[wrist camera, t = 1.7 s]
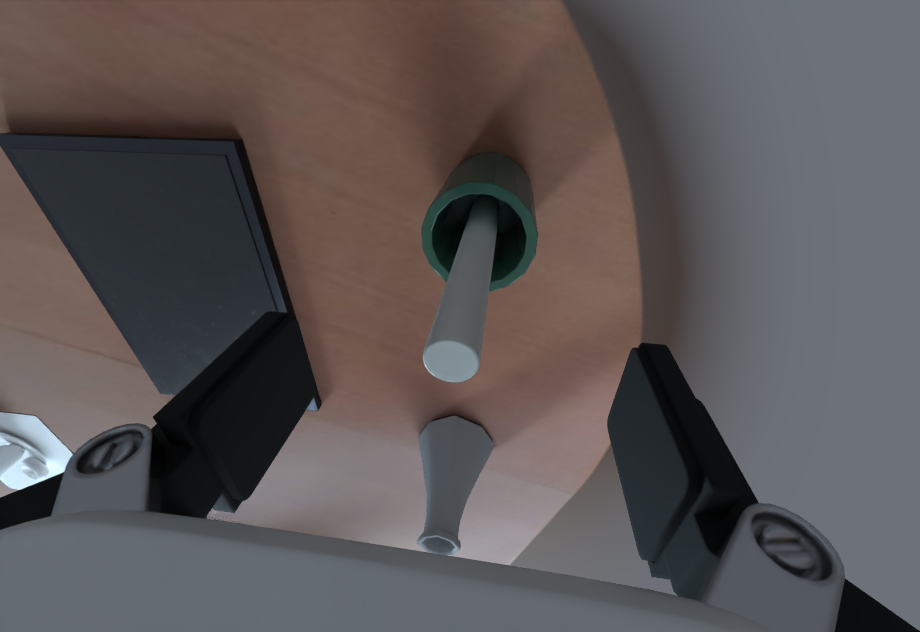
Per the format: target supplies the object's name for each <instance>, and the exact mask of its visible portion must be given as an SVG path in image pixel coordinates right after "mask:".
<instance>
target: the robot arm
mask: <svg viewBox="0 0 920 632" xmlns="http://www.w3.org/2000/svg"><path fill="white" fill-rule="evenodd" d="M315 393H316V383H315V380H314V376H313V373H312V369H311V366H310V362H309V359H308V355H307V352H306V348H305V345H304V342H303V338H302V335H301V331H300V328H299V324H298V321H297V320H296V319H295V318H293V317H292V315H291V314H290V313H287V312H276V311H267V312H266V313H264V314H263V315H262V316H261V317H260V318H259V319H258V320H257V321H256V322H255V323H254V324H253V325H252V326H250V327H249V328H248V329H247V330H246V331H245V332H244V333H243V334H242V335H241V336H240V337H239V338H237V339H236V340H235V341H234V342H233V343H232V344H231V345H230V346H229V347H228V348H227V349H226V350H225V351H223V352H222V353H221V354H220V355H219V356H218V357H217V358H216V359H215V360H214V361H213V362H212V363H211V364H209V365H208V366H207V367H206V368H205V369H204V370H203V371H202V372H201V373H200V374H199V375H198V376H196V377H195V378H194V379H193V380H192V381H191V382H190V383H189V384H188V385H187V386H186V387H185V388H184V389H182V390H181V391H180V392H179V393H178V394H177V395H176V396H175V397H174V398H173V399H172V400H171V401H169V402H168V403H167V404H166V405H165V406H164V407H163V408H162V409H161V410H160V411H159V412H158V413H157V414H155V415H154V416H153V418H154V420H155V421H156V423H157V424H156V425H155V426H154V427H153V428H152V429H150V428H149V427H148V426H146V425H143V424H138V423H136V424H126V425H122V426H118V427H114V428H112V429H110V430H107V431H105V432H102V433H101V434H99V435H97V436H95V437H94V438H92V439H90V440H89V441H88V442H86V443H85V444H84V445H82V446H81V447H80V448H79V449H78V450H77V451H76V452H75V453H74V454H73V455H72V456H71V457H70V459H69V461H68V463H67V465H66V468H65V471H64V472H63V473H60V474H58V475H55V476H53V477H50V478H48V479H46V480H43V481H41V482H38V483H36V484H33V485H31V486H28V487H26V488H23V489H21V490H18V491H16V492H13V493H11V494H8V495H6V496H3V497H1V498H0V632H920V631H919V630H917V629H916V628H914V627H913V626H912V625H910V624H909V623H907V622H906V621H904V620H903V619H902V618H900V617H899V616H897V615H896V614H894V613H893V612H892V611H890V610H889V609H887V608H886V607H885V606H883V605H882V604H880V603H879V602H878V601H876V600H875V599H873V598H872V597H870V596H869V595H867V594H866V593H865V592H863V591H862V590H860V589H859V588H858V587H856V586H855V585H853V584H852V583H851V582H849V581H848V580H846V579H845V576H844V566H843V564H842V562H841V559H840V557H839V555H838V553H837V551H836V550H835V549H834V547H833V546H832V545H831V543H830V542H829V541H828V539H827V538H826V537H824V535H822V534H821V533H820V532H819V531H818V530H817V529H816V528H815V527H814V526H813V525H811V524H810V523H808V522H807V521H806V520H804V519H803V518H802V517H800V516H799V515H797V514H794V513H792V512H791V511H789V510H787V509H785V508H782V507H778V506H775V505H772V504H762V503H758V501H757V499H756V497H755V495H754V494H753V492H752V490H751V488H750V486H749V485H748V483H747V481H746V479H745V478H744V476H743V474H742V472H741V470H740V469H739V467H738V465H737V463H736V461H735V460H734V458H733V456H732V454H731V453H730V451H729V449H728V447H727V445H726V444H725V442H724V440H723V438H722V436H721V435H720V433H719V431H718V429H717V428H716V426H715V424H714V422H713V420H712V419H711V417H710V415H709V413H708V412H707V410H706V408H705V406H704V405H703V404H702V402H701V401H699V400H698V399H696V398H695V396H694V394H693V393H692V390H691V389H690V387H689V385H688V383H687V381H686V380H685V378H684V376H683V374H682V372H681V370H680V369H679V367H678V365H677V363H676V361H675V360H674V358H673V356H672V354H671V352H670V350H669V349H668V347H667V346H666V345H660V344H648V343H641V344H640V345H639V347H638V348H632V349H631V351H630V354H629V357H628V360H627V363H626V366H625V369H624V372H623V375H622V378H621V381H620V384H619V386H618V389H617V392H616V395H615V398H614V401H613V404H612V407H611V410H610V413H609V416H608V422H607V426H608V433H609V437H610V441H611V445H612V449H613V453H614V457H615V461H616V465H617V468H618V473H619V477H620V481H621V485H622V489H623V493H624V497H625V501H626V505H627V509H628V513H629V517H630V521H631V525H632V529H633V533H634V537H635V541H636V545H637V549H638V552H639V555H640V557H641V559H642V560H647V561H648V565H649V568H650V572H651V576H652V577H657V578H664V579H670V580H671V583H672V587H673V590H674V592H675V593H676V594H677V595H678V596H675V595H671V594H667V593H662V592H658V591H654V590H649V589H643V588H637V587H632V586H627V585H621V584H615V583H610V582H604V581H599V580H593V579H587V578H582V577H576V576H571V575H565V574H558V573H552V572H546V571H540V570H533V569H527V568H521V567H515V566H509V565H503V564H496V563H490V562H484V561H478V560H472V559H465V558H459V557H453V556H447V555H440V554H434V553H427V552H421V551H415V550H408V549H402V548H395V547H389V546H383V545H376V544H370V543H363V542H357V541H350V540H344V539H338V538H331V537H325V536H318V535H312V534H305V533H298V532H292V531H285V530H278V529H272V528H265V527H258V526H252V525H245V524H238V523H232V522H225V521H218V520H211V519H207V514H208V513H209V512H210V510H211V509H212V507H213V508H214V509H215V510H218V511H225V512H232V513H235V511H236V510H237V508H238V507H239V505H240V504H241V502H242V501H244V500H247V499H248V498H249V497H250V496H251V494H252V493H253V491H254V490H255V488H256V487H257V485H258V484H259V482H260V480H261V479H262V477H263V476H264V474H265V473H266V471H267V470H268V468H269V466H270V465H271V463H272V462H273V460H274V459H275V457H276V456H277V454H278V452H279V451H280V449H281V448H282V446H283V445H284V443H285V442H286V440H287V438H288V437H289V435H290V434H291V432H292V431H293V429H294V428H295V426H296V424H297V423H298V421H299V420H300V418H301V417H302V415H303V414H304V412H305V410H306V409H307V407H308V406H309V404H310V403H311V401H312V400H313V398H314V396H315Z"/></svg>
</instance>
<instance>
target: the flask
mask: <svg viewBox="0 0 920 632" xmlns="http://www.w3.org/2000/svg"><path fill="white" fill-rule="evenodd" d="M419 446H420V452H421V458H422V464H423V470H424V478H425V485H426V493H427V510H426V521H425V527H424V531H423V533H422V535H421V536H420V537H419V538H418V542H417V543H418V544H419V545H420V546H421V547H422V548H423V549H424V550H425V551H427V552H430V553H434V554H440V555H454V554H455V553H456V552H457V551H458V550H459V549H460V547H461V544H460V541H459V540H458V531H459V524H460V520H461V516H462V513H463V510H464V507H465V504H466V501H467V499H468V497H469V495H470V493H471V490H472V488H473V486H474V484H475V482H476V480H477V478H478V476H479V474H480V472H481V471H482V469H483V467H484V465H485V463H486V461H487V459H488V458H489V456H490V454H491V452H492V450H493V448H494V446H495V445H494V444H493V442H492V441H491V439H490V438H489V436H488V435H487V433H486V432H485V431H484V429H483V428H482V427H481V426H478V425H476V424H474V423H471V422H469V421H467V420H464V419H462V418H460V417H457V416H451V417H447V418H443V419H439V420H435V421H432V422H429V423H428V424H427V426H426V427H425V429H424V430H423V432H422V433H421V435H420V436H419Z"/></svg>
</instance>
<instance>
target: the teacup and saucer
mask: <svg viewBox="0 0 920 632" xmlns="http://www.w3.org/2000/svg"><path fill="white" fill-rule="evenodd" d="M16 464H18V467H19V469H20V471H21V472H22V473H23V474H24V475H25V476H26V477H28V478H29V479H31V480H34V481H43V480H46V478H47V477H48V476H49V474H50V470H49V468H48V466H47V465H48V461H47V459H46V457H45V456H44V455H43V454H42V453H41V452H40V451H39V450H38V449H36V448H35V447H34V446H32V445H31V444H29V443H28V442H26V441H24V440H22V439H20V438H18V437H16V436H14V435H11V434H9V433H6V432H2V431H0V478H1V477H2V476H3V475H5V474H6V473H7V472H8V471H9V470H10V469H12V468H13V467H14V466H15V465H16Z"/></svg>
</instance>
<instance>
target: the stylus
mask: <svg viewBox="0 0 920 632" xmlns="http://www.w3.org/2000/svg"><path fill="white" fill-rule="evenodd" d="M499 211H500V206H499V203H498V201H497V199H496V197H494V196H492V195H485V194H482V195H481V196H479V197H478V198H476V200H475V201H474V203H473V205H472V208H471V211H470V214H469V217H468V220H467V223H466V226H465V229H464V232H463V235H462V238H461V241H460V244H459V247H458V250H457V253H456V256H455V259H454V262H453V265H452V268H451V271H450V274H449V277H448V280H447V283H446V286H445V289H444V292H443V295H442V298H441V301H440V304H439V307H438V310H437V313H436V316H435V319H434V322H433V325H432V328H431V331H430V334H429V337H428V340H427V343H426V346H425V349H424V352H423V361H424V364H425V366H426V368H427V370H428V371H429V372H430V373H431V374H432V375H434V376H435V377H437V378H439V379H441V380H444V381H448V382H461V381H465V380H467V379H469V378H471V377H472V376H473V375H474V374H475V373H476V372H477V370H478V368H479V364H480V357H481V349H482V341H483V334H484V326H485V318H486V311H487V303H488V295H489V288H490V280H491V272H492V265H493V257H494V250H495V242H496V234H497V227H498V219H499Z"/></svg>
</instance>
